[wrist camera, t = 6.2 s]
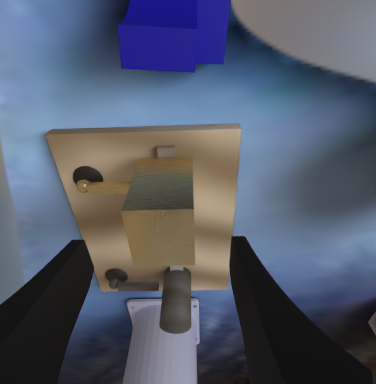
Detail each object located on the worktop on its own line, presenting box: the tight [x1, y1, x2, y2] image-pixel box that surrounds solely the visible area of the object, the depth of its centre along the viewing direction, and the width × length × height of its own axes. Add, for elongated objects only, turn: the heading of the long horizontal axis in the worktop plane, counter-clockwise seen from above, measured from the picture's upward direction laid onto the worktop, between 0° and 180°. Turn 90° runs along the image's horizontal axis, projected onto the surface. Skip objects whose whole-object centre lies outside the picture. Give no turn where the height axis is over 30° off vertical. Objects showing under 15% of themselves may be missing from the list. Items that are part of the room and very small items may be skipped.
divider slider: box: [77, 157, 195, 267], centre depth 16 cm, size 4×8×6 cm, turn 92°
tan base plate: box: [46, 124, 242, 334], centre depth 20 cm, size 17×13×6 cm
